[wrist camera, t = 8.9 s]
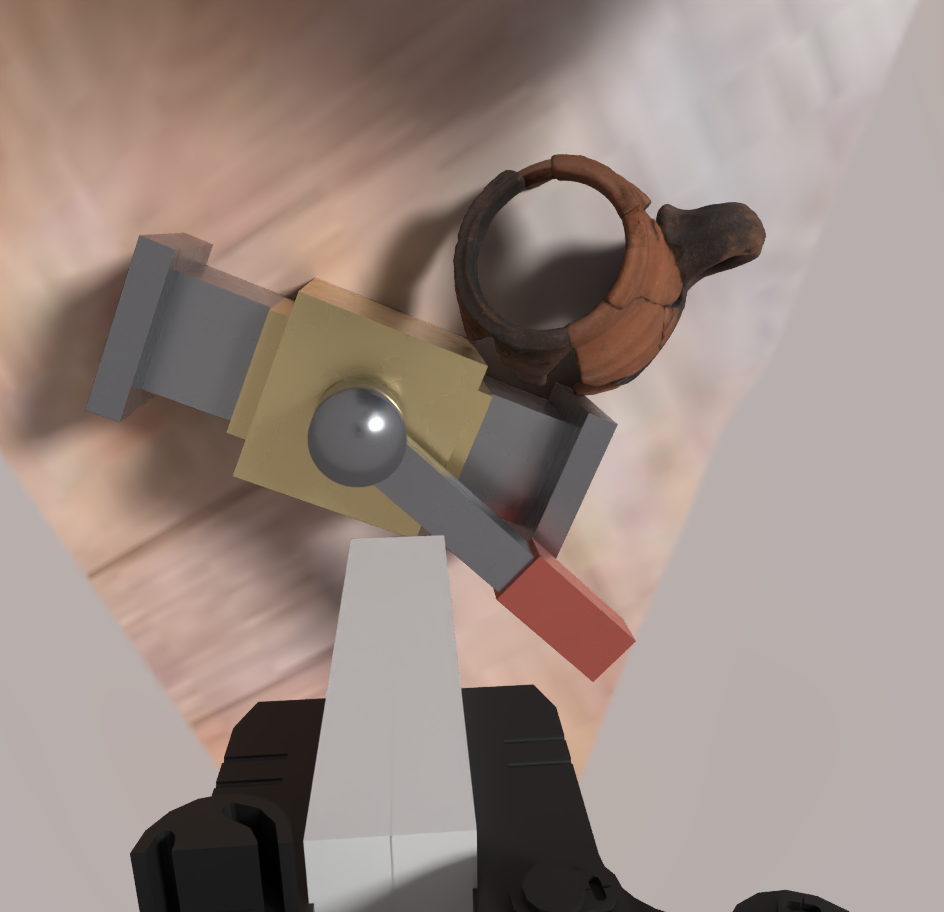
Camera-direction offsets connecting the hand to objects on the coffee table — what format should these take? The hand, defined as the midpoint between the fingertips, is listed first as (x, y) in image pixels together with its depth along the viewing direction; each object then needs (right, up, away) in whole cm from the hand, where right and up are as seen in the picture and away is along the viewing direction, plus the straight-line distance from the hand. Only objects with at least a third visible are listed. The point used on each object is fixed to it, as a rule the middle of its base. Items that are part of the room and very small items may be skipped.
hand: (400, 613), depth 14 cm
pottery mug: (+6, +11, +23) cm, 26 cm away
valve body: (-3, +6, +23) cm, 24 cm away
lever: (+1, 0, +17) cm, 17 cm away
